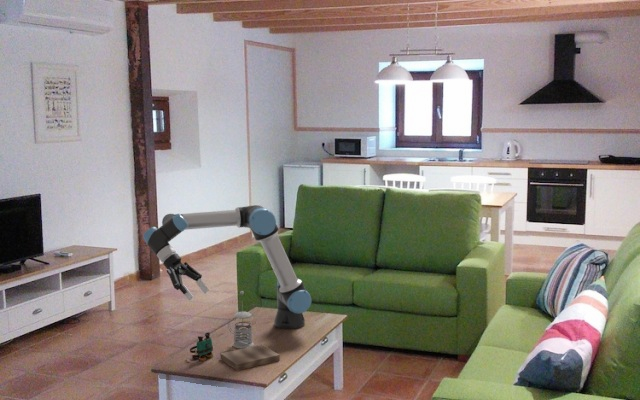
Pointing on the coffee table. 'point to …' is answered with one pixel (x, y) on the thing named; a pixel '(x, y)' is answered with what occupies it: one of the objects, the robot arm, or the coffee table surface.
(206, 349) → the binoculars
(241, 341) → the white plunger jar
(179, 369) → the coffee table surface
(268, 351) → the walnut stand
